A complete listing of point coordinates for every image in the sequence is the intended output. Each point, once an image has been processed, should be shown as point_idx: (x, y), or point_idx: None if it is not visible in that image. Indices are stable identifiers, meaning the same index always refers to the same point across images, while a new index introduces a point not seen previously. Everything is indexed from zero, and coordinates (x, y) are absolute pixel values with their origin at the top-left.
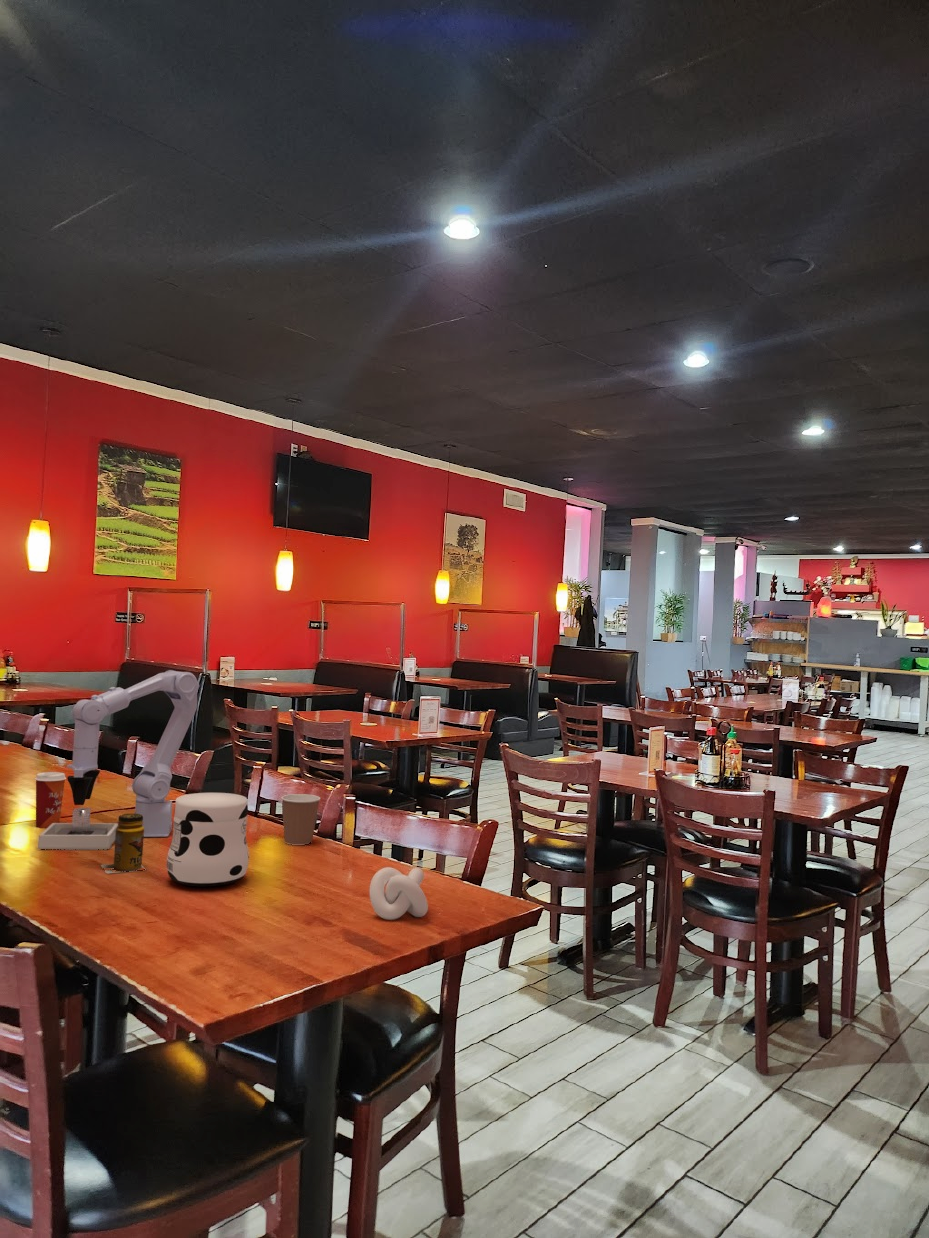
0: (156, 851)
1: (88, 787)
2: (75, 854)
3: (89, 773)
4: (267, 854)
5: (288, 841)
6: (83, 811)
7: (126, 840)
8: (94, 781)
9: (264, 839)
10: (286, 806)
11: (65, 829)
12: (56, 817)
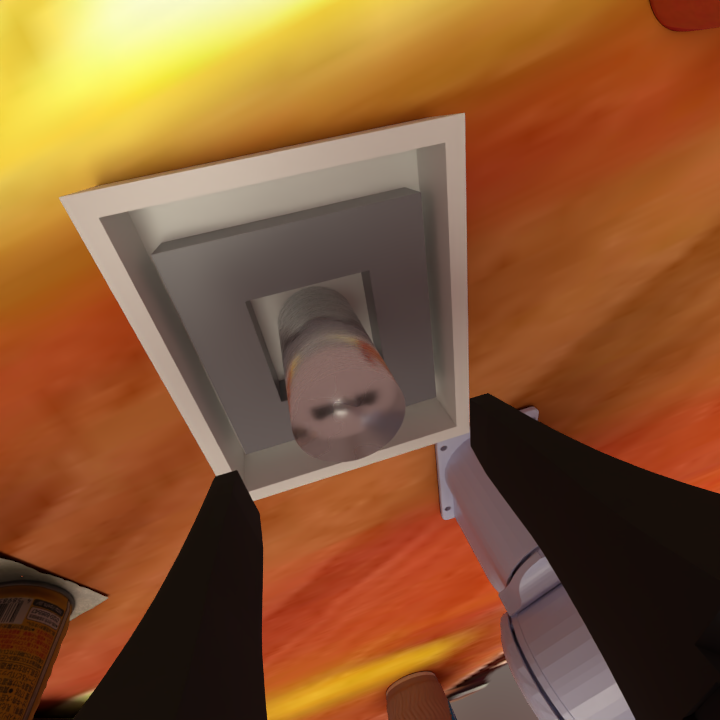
0: (265, 565)
1: (530, 511)
2: (110, 396)
3: (661, 677)
4: (305, 698)
5: (393, 692)
6: (303, 445)
7: None
8: (572, 595)
9: (434, 645)
10: None
11: (392, 229)
12: (715, 13)
